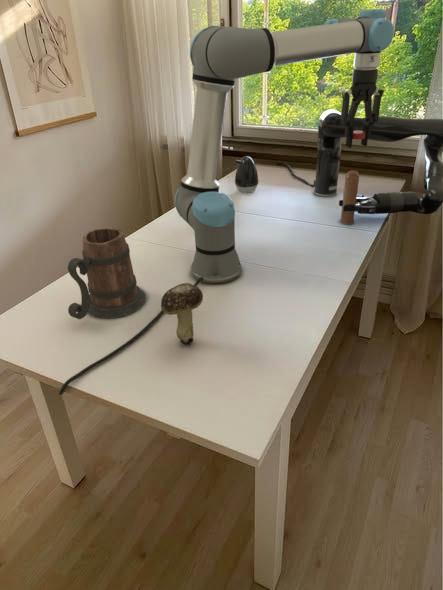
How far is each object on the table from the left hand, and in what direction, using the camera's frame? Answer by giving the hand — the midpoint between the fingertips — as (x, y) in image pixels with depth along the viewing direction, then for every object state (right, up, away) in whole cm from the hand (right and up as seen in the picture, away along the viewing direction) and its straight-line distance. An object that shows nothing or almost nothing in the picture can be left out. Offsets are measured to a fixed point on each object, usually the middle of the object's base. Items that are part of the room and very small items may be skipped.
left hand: (356, 145), depth 149 cm
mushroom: (-54, -62, -42) cm, 92 cm away
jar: (+1, -23, +15) cm, 28 cm away
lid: (0, +3, -2) cm, 4 cm away
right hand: (-2, -18, +11) cm, 21 cm away
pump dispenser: (-34, -5, +46) cm, 58 cm away
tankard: (-76, -54, -28) cm, 97 cm away
